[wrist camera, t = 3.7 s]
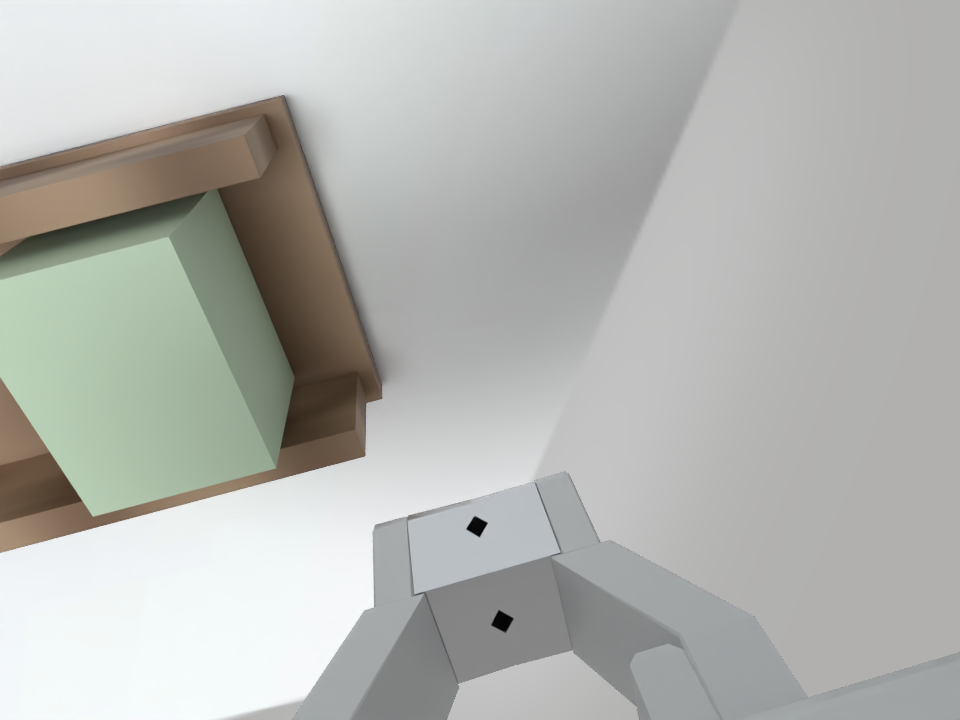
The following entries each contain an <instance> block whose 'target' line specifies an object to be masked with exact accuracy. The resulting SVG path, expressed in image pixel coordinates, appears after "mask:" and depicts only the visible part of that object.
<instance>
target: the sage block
mask: <svg viewBox="0 0 960 720" xmlns="http://www.w3.org/2000/svg"><path fill="white" fill-rule="evenodd" d="M0 378H1V379H2V381H3V382H4V384H5V385H6V387H7V388H8V390H9V391H10V393H11V394H12V396H13V397H14V399H15V400H16V402H17V403H18V405H19V406H20V408H21V409H22V411H23V412H24V414H25V415H26V417H27V418H28V420H29V421H30V423H31V424H32V426H33V427H34V429H35V430H36V432H37V433H38V435H39V436H40V438H41V439H42V441H43V442H44V444H45V445H46V447H47V448H48V450H49V451H50V453H51V454H52V456H53V457H54V459H55V460H56V462H57V463H58V465H59V466H60V468H61V469H62V471H63V472H64V474H65V475H66V477H67V478H68V480H69V481H70V483H71V484H72V486H73V487H74V489H75V490H76V492H77V493H78V495H79V496H80V498H81V499H82V501H83V502H84V504H85V505H86V507H87V508H88V510H89V511H90V513H91V514H92V516H93V517H94V516H98V515H102V514H105V513H109V512H113V511H117V510H120V509H124V508H128V507H132V506H136V505H139V504H143V503H147V502H151V501H155V500H158V499H162V498H166V497H170V496H173V495H177V494H181V493H185V492H189V491H192V490H196V489H200V488H204V487H208V486H211V485H215V484H219V483H223V482H226V481H230V480H234V479H238V478H242V477H245V476H249V475H253V474H257V473H261V472H264V471H268V470H272V469H276V467H277V462H278V457H279V452H280V447H281V442H282V438H283V433H284V428H285V423H286V418H287V413H288V408H289V403H290V398H291V393H292V389H293V384H294V379H295V377H294V374H293V372H292V369H291V367H290V365H289V362H288V360H287V357H286V355H285V352H284V350H283V348H282V345H281V343H280V340H279V338H278V335H277V333H276V331H275V328H274V326H273V323H272V321H271V318H270V316H269V314H268V311H267V309H266V306H265V304H264V302H263V299H262V297H261V294H260V292H259V289H258V287H257V285H256V282H255V280H254V277H253V275H252V272H251V270H250V268H249V265H248V263H247V260H246V258H245V255H244V253H243V251H242V248H241V246H240V243H239V241H238V238H237V236H236V234H235V231H234V229H233V226H232V224H231V222H230V219H229V217H228V214H227V212H226V209H225V207H224V205H223V202H222V200H221V197H220V195H219V192H218V190H217V189H214V190H210V191H206V192H202V193H198V194H194V195H190V196H186V197H182V198H179V199H175V200H171V201H167V202H163V203H159V204H155V205H151V206H147V207H143V208H139V209H135V210H131V211H128V212H124V213H120V214H116V215H112V216H108V217H104V218H100V219H96V220H92V221H88V222H84V223H80V224H77V225H73V226H69V227H65V228H61V229H57V230H53V231H49V232H45V233H41V234H37V235H33V236H29V237H28V238H26V239H25V240H23V241H22V242H20V243H19V244H17V245H16V246H15V247H13V248H12V249H10V250H9V251H7V252H6V253H4V254H3V255H1V256H0Z"/></svg>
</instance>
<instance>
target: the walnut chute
mask: <svg viewBox="0 0 960 720" xmlns="http://www.w3.org/2000/svg"><path fill="white" fill-rule="evenodd" d="M214 189H217V190H218V192H219V195H220V197H221V200H222V202H223V205H224V207H225V209H226V212H227V214H228V217H229V219H230V222H231V224H232V226H233V229H234V231H235V234H236V236H237V238H238V241H239V243H240V246H241V248H242V251H243V253H244V255H245V258H246V260H247V263H248V265H249V268H250V270H251V272H252V275H253V277H254V280H255V282H256V285H257V287H258V289H259V292H260V294H261V297H262V299H263V302H264V304H265V306H266V309H267V311H268V314H269V316H270V318H271V321H272V323H273V326H274V328H275V331H276V333H277V335H278V338H279V340H280V343H281V345H282V348H283V350H284V352H285V355H286V357H287V360H288V362H289V365H290V367H291V369H292V372H293V374H294V377H295V379H294V384H293V389H292V393H291V398H290V403H289V408H288V413H287V418H286V423H285V428H284V433H283V438H282V442H281V447H280V452H279V457H278V462H277V467H276V469H272V470H268V471H264V472H261V473H257V474H253V475H249V476H245V477H242V478H238V479H234V480H230V481H226V482H223V483H219V484H215V485H211V486H208V487H204V488H200V489H196V490H192V491H189V492H185V493H181V494H177V495H173V496H170V497H166V498H162V499H158V500H155V501H151V502H147V503H143V504H139V505H136V506H132V507H128V508H124V509H120V510H117V511H113V512H109V513H105V514H102V515H98V516H94V517H93V516H92V514H91V513H90V511H89V510H88V508H87V507H86V505H85V504H84V502H83V501H82V499H81V498H80V496H79V495H78V493H77V492H76V490H75V489H74V487H73V486H72V484H71V483H70V481H69V480H68V478H67V477H66V475H65V474H64V472H63V471H62V469H61V468H60V466H59V465H58V463H57V462H56V460H55V459H54V457H53V456H52V454H51V453H50V451H49V450H48V448H47V447H46V445H45V444H44V442H43V441H42V439H41V438H40V436H39V435H38V433H37V432H36V430H35V429H34V427H33V426H32V424H31V423H30V421H29V420H28V418H27V417H26V415H25V414H24V412H23V411H22V409H21V408H20V406H19V405H18V403H17V402H16V400H15V399H14V397H13V396H12V394H11V393H10V391H9V390H8V388H7V387H6V385H5V384H4V382H3V381H2V379H1V378H0V553H1V552H5V551H9V550H13V549H16V548H20V547H24V546H28V545H32V544H35V543H39V542H43V541H47V540H51V539H54V538H58V537H62V536H66V535H69V534H73V533H77V532H81V531H85V530H88V529H92V528H96V527H100V526H103V525H107V524H111V523H115V522H119V521H122V520H126V519H130V518H134V517H137V516H141V515H145V514H149V513H153V512H156V511H160V510H164V509H168V508H172V507H175V506H179V505H183V504H187V503H190V502H194V501H198V500H202V499H206V498H209V497H213V496H217V495H221V494H224V493H228V492H232V491H236V490H240V489H243V488H247V487H251V486H255V485H258V484H262V483H266V482H270V481H274V480H277V479H281V478H285V477H289V476H293V475H296V474H300V473H304V472H308V471H311V470H315V469H319V468H323V467H327V466H330V465H334V464H338V463H342V462H345V461H349V460H353V459H357V458H361V457H364V456H365V443H366V403H368V402H372V401H375V400H379V399H382V383H381V380H380V377H379V374H378V371H377V369H376V366H375V363H374V360H373V357H372V354H371V351H370V348H369V345H368V342H367V339H366V336H365V333H364V330H363V327H362V324H361V321H360V319H359V316H358V313H357V310H356V307H355V304H354V301H353V298H352V295H351V292H350V289H349V286H348V283H347V280H346V277H345V274H344V271H343V269H342V266H341V263H340V260H339V257H338V254H337V251H336V248H335V245H334V242H333V239H332V236H331V233H330V230H329V227H328V224H327V221H326V218H325V216H324V213H323V210H322V207H321V204H320V201H319V198H318V195H317V192H316V189H315V186H314V183H313V180H312V177H311V174H310V171H309V168H308V166H307V163H306V160H305V157H304V154H303V151H302V148H301V145H300V142H299V139H298V136H297V133H296V130H295V127H294V124H293V121H292V118H291V116H290V113H289V110H288V107H287V104H286V101H285V98H284V95H282V96H278V97H274V98H270V99H266V100H262V101H258V102H254V103H250V104H246V105H243V106H239V107H235V108H231V109H227V110H223V111H219V112H215V113H211V114H207V115H203V116H199V117H195V118H191V119H187V120H183V121H179V122H175V123H171V124H167V125H163V126H159V127H155V128H151V129H147V130H144V131H140V132H136V133H132V134H128V135H124V136H120V137H116V138H112V139H108V140H104V141H100V142H96V143H92V144H88V145H84V146H80V147H76V148H72V149H68V150H64V151H60V152H56V153H52V154H48V155H44V156H41V157H37V158H33V159H29V160H25V161H21V162H17V163H13V164H9V165H5V166H1V167H0V256H1V255H3V254H4V253H6V252H7V251H9V250H10V249H12V248H13V247H15V246H16V245H17V244H19V243H20V242H22V241H23V240H25V239H26V238H28V237H29V236H33V235H37V234H41V233H45V232H49V231H53V230H57V229H61V228H65V227H69V226H73V225H77V224H80V223H84V222H88V221H92V220H96V219H100V218H104V217H108V216H112V215H116V214H120V213H124V212H128V211H131V210H135V209H139V208H143V207H147V206H151V205H155V204H159V203H163V202H167V201H171V200H175V199H179V198H182V197H186V196H190V195H194V194H198V193H202V192H206V191H210V190H214Z"/></svg>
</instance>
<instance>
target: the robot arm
mask: <svg viewBox="0 0 960 720" xmlns="http://www.w3.org/2000/svg"><path fill="white" fill-rule="evenodd" d="M373 572H374V608H371V609H368V610H365V611H364V612H363V613H362V615H361V616H360V618H359V619H358V621H357V622H356V624H355V625H354V627H353V628H352V630H351V631H350V633H349V634H348V636H347V637H346V639H345V640H344V642H343V643H342V645H341V646H340V648H339V649H338V651H337V652H336V654H335V655H334V657H333V658H332V660H331V661H330V663H329V664H328V666H327V667H326V669H325V670H324V672H323V673H322V675H321V676H320V678H319V679H318V681H317V682H316V684H315V685H314V687H313V688H312V690H311V691H310V693H309V694H308V696H307V697H306V699H305V700H304V702H303V703H302V705H301V706H300V708H299V709H298V711H297V712H296V714H295V715H294V717H293V718H292V720H447V718H448V715H449V712H450V710H451V707H452V704H453V702H454V699H455V697H456V694H457V691H458V689H459V686H458V684H459V683H462V682H465V681H468V680H471V679H474V678H477V677H480V676H483V675H486V674H490V673H493V672H496V671H499V670H502V669H505V668H508V667H511V666H514V665H518V664H521V663H526V662H529V661H533V660H537V659H540V658H545V657H549V656H552V655H556V654H560V653H564V652H568V651H571V650H573V652H574V654H576V655H577V656H578V657H579V658H580V659H581V660H583V661H584V662H585V663H586V664H587V665H588V666H590V667H591V668H592V669H593V670H594V671H595V672H597V673H598V674H599V675H600V676H601V677H602V678H604V679H605V680H606V681H607V682H608V683H609V684H611V685H612V686H613V687H614V688H615V689H616V690H618V691H619V692H620V693H621V694H623V695H624V696H625V697H626V698H627V699H628V700H629V701H631V702H632V703H633V704H634V705H635V706H636V707H637V711H638V716H639V720H960V652H959V653H956V654H952V655H949V656H945V657H942V658H939V659H935V660H932V661H928V662H925V663H922V664H918V665H916V666H912V667H909V668H905V669H902V670H899V671H895V672H892V673H888V674H886V675H882V676H878V677H875V678H872V679H869V680H865V681H862V682H858V683H855V684H852V685H848V686H845V687H841V688H838V689H835V690H831V691H829V692H825V693H822V694H818V695H815V696H811V697H808V696H807V695H806V694H805V692H804V690H803V689H802V687H801V686H800V684H799V683H798V681H797V680H796V678H795V677H794V675H793V674H792V672H791V671H790V669H789V668H788V666H787V665H786V663H785V662H784V660H783V659H782V657H781V656H780V654H779V652H778V651H777V649H776V648H775V647H774V645H773V643H772V642H771V640H770V639H769V637H768V636H767V634H766V633H765V631H764V630H763V628H762V627H761V625H760V624H759V622H758V621H757V619H756V618H755V616H753V615H751V614H749V613H748V612H746V611H744V610H742V609H740V608H738V607H736V606H734V605H732V604H730V603H729V602H727V601H725V600H723V599H721V598H719V597H717V596H715V595H713V594H712V593H709V592H708V591H706V590H704V589H702V588H700V587H698V586H696V585H695V584H693V583H691V582H689V581H687V580H685V579H683V578H681V577H680V576H678V575H676V574H674V573H672V572H670V571H668V570H666V569H664V568H663V567H661V566H659V565H657V564H655V563H653V562H651V561H649V560H647V559H646V558H644V557H642V556H640V555H638V554H636V553H634V552H632V551H630V550H628V549H626V548H625V547H623V546H621V545H619V544H617V543H615V542H613V541H612V540H608V541H605V542H600V540H599V538H598V536H597V533H596V531H595V529H594V527H593V525H592V523H591V521H590V519H589V516H588V514H587V512H586V510H585V508H584V506H583V503H582V501H581V499H580V497H579V495H578V493H577V490H576V488H575V486H574V484H573V482H572V480H571V477H570V475H569V474H568V473H567V472H565V471H564V472H560V473H558V474H554V475H551V476H547V477H544V478H541V479H538V480H534V482H531V483H527V484H524V485H520V486H517V487H514V488H510V489H507V490H503V491H500V492H496V493H493V494H489V495H486V496H482V497H479V498H475V499H472V500H467V501H463V502H459V503H455V504H451V505H448V506H444V507H440V508H436V509H432V510H428V511H424V512H421V513H417V514H413V515H409V516H408V517H403V518H399V519H395V520H392V521H388V522H384V523H380V524H377V525H375V527H374V530H373Z"/></svg>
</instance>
